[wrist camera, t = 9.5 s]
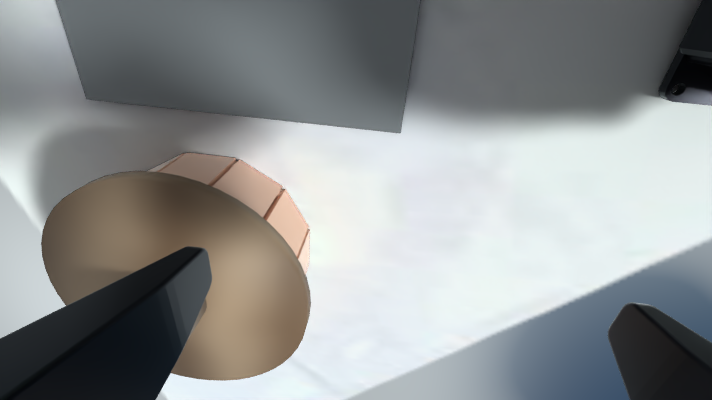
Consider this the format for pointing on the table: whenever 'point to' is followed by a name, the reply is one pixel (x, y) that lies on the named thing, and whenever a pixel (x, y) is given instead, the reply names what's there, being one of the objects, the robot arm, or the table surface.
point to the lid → (171, 233)
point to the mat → (249, 57)
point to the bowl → (247, 194)
